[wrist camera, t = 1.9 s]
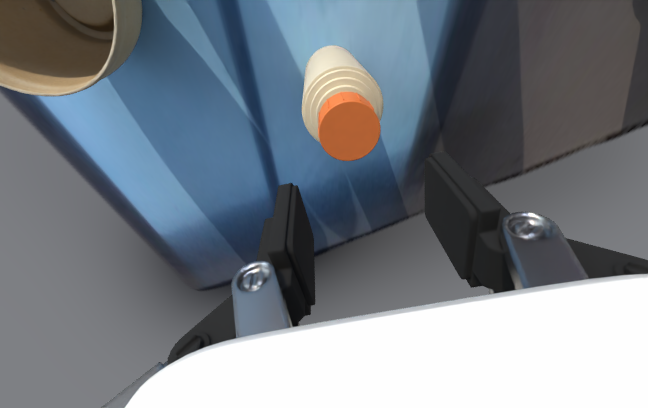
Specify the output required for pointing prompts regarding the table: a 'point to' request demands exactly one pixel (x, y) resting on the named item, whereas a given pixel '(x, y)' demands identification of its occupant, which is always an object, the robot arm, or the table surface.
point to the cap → (348, 126)
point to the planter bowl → (64, 43)
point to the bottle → (335, 83)
